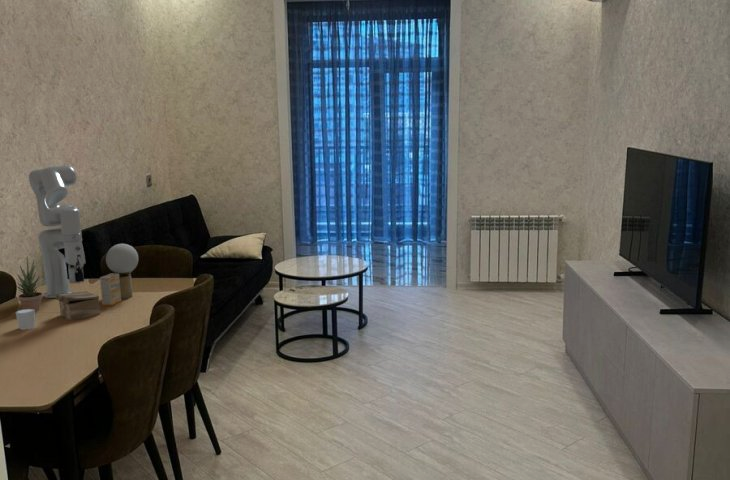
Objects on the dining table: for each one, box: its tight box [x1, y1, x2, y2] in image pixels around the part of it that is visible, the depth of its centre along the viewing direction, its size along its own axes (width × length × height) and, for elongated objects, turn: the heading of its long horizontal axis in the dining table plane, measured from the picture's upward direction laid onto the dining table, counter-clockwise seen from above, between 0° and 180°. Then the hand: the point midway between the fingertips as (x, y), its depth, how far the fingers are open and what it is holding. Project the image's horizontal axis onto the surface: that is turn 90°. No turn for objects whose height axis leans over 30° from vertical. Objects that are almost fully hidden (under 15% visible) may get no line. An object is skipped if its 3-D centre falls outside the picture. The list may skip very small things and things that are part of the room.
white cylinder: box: [15, 308, 36, 331], centre depth 269 cm, size 7×7×7 cm
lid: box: [56, 290, 100, 305], centre depth 285 cm, size 12×13×2 cm
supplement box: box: [99, 272, 122, 307], centre depth 302 cm, size 8×5×13 cm, turn 168°
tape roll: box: [67, 266, 85, 284], centre depth 283 cm, size 6×6×6 cm
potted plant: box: [16, 257, 44, 313], centre depth 292 cm, size 10×10×25 cm
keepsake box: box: [58, 297, 101, 321], centre depth 286 cm, size 12×12×7 cm
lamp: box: [105, 243, 139, 301], centre depth 312 cm, size 15×14×25 cm
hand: (76, 279), depth 284 cm, fingers closed on tape roll, 5 cm apart
